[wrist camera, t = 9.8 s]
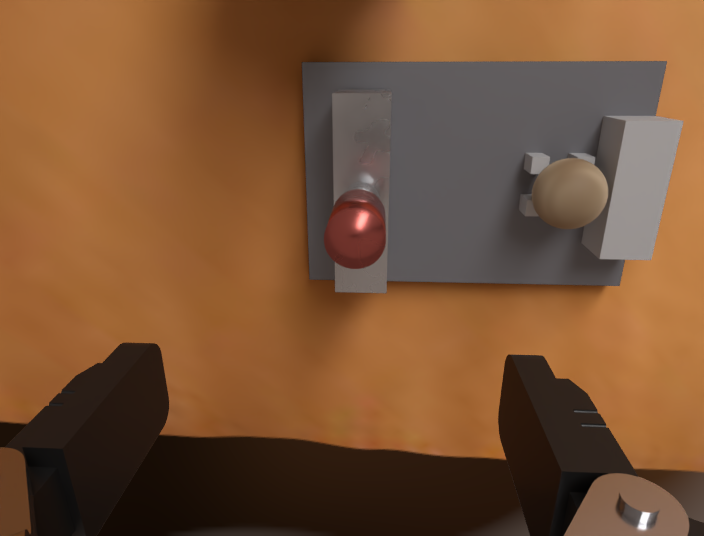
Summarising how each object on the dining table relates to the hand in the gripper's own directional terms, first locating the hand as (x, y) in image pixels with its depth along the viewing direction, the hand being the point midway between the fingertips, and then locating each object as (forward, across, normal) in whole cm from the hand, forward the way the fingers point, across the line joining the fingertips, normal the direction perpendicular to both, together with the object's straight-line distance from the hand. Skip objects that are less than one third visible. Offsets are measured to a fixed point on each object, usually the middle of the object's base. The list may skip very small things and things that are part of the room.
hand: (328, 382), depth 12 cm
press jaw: (+22, 0, 0) cm, 22 cm away
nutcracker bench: (+24, -7, 0) cm, 25 cm away
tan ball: (+19, -12, 0) cm, 22 cm away
